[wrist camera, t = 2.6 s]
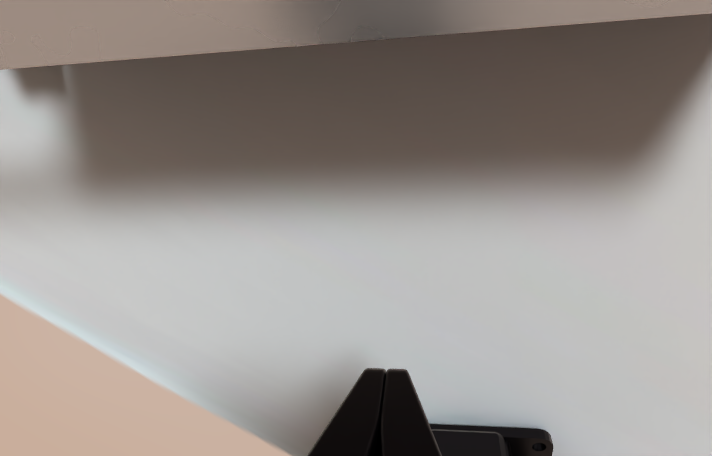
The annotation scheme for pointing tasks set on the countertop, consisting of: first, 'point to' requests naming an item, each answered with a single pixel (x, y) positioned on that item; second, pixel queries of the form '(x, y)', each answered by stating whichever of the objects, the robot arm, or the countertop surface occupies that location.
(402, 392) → the robot arm
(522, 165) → the countertop surface
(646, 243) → the countertop surface
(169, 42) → the gauge plunger
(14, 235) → the countertop surface
